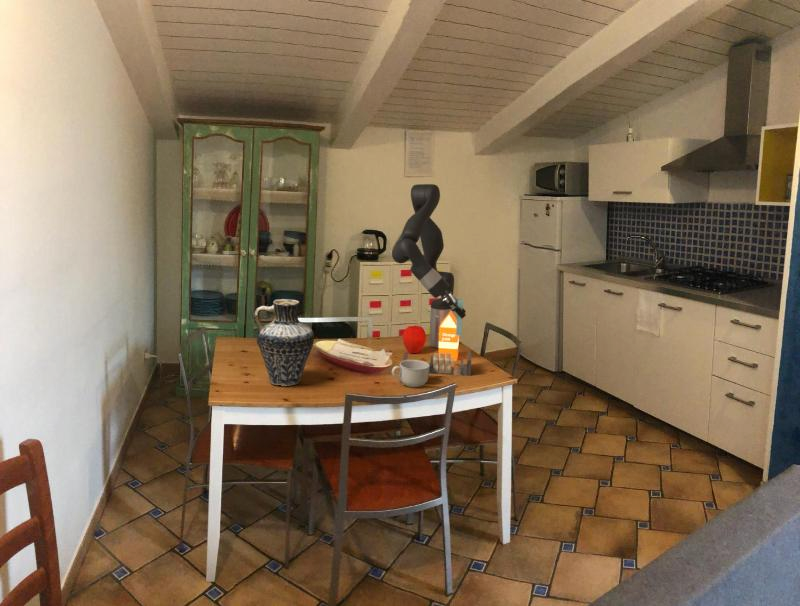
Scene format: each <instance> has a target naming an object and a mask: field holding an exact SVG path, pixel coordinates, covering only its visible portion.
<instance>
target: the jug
mask: <svg viewBox="0 0 800 606" xmlns="http://www.w3.org/2000/svg"><path fill="white" fill-rule="evenodd" d="M272 303H273V304H272V305H271V306H266V305H261V306H259V307H257V308H256V309H255V311H254V315H253V316H254V317H253V318H254V320H255V322H256V326H257V331H256V343H257V345H258V348H259V351H260V353H261V357H262V359H263V362H264V366H265V368H266V371H267V374H268V379H269V383H270V384H272V385H275V386H278V385H281V387H287V386H294V385H298V383H300V381H301V378H302V375H303V372H304V371H305V367H306V364H307V360H308V358H309V357H310V354H311V351H312V349H313V347H314V346H313V345H314V341H315V335H314V331H313V330H312V328H311V327H310V326H309V325H307V324H305V323H304V322H302V321H300V319H299V318H298V309H299V304H300V301H299V300H296V299H288V298H282V299H275V300H273V302H272ZM262 311H263V312H264V311H265V312H268V313H271V314H273V316H274V317H273V318H272V319H273V320H272V321H271V322H268V323H267V324H264V325H262V323H261V320H260V313H261V312H262Z"/></svg>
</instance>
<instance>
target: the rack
mask: <svg viewBox="0 0 800 606" xmlns="http://www.w3.org/2000/svg"><path fill="white" fill-rule="evenodd" d="M408 353H409V352H404V353H403V357H402V360H401V362H402V361H404V360H409V359H408ZM466 355H467V356H466V365H465V364H464V357H461V358H460V364H455V361H454V357H452V361H451V369H450V373H445V369H444V373H439V368H438V372H433V358H434V355H431V356H430V363H428V362H427V363H428V364H429V366H430V367H429V374H431V375H447V376H448V375H450V376H467V377H468V376H469V377H471V372H472V369H471V368H472V351H471V350H467V354H466Z"/></svg>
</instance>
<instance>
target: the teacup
mask: <svg viewBox="0 0 800 606" xmlns="http://www.w3.org/2000/svg"><path fill="white" fill-rule="evenodd" d="M429 367H430V366H429V364H428V362H426V361H424V360H419V359H408V360H404V361H402V360H401V361H400V363H399V365H395V366H393V368H392V369H391V374H392V376H393V378H396V379H398V381H399V382H401V383H403V385H404V386H406V387H409V388H420V387H423V385H425V384H426V383H428V380H429ZM397 370H399V375H397V374H396V371H397Z"/></svg>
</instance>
